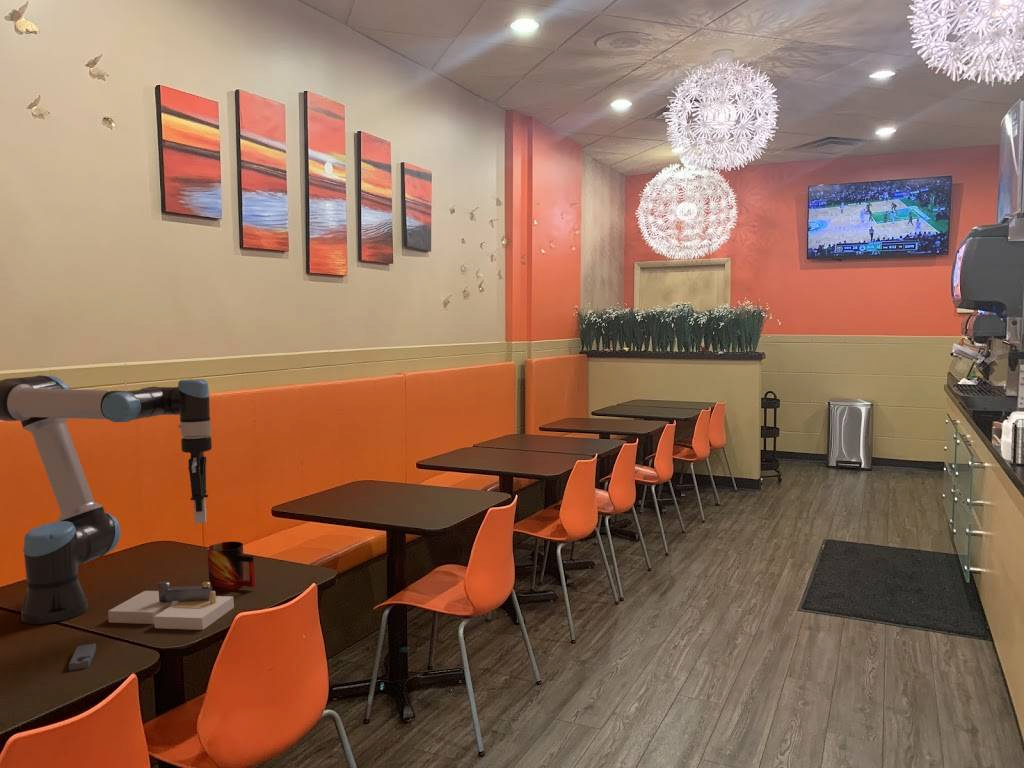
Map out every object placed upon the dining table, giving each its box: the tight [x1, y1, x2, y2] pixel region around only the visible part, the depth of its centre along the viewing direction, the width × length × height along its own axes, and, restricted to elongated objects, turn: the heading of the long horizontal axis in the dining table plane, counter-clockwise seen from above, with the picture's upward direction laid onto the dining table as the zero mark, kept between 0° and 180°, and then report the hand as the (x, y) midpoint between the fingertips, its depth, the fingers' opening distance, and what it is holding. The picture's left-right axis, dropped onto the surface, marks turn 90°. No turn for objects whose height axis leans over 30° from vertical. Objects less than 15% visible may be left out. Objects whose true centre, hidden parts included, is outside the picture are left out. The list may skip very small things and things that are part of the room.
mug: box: [206, 541, 256, 594], centre depth 218 cm, size 10×14×12 cm
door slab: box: [153, 591, 235, 631], centre depth 195 cm, size 13×15×6 cm
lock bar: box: [157, 580, 212, 602], centre depth 199 cm, size 13×3×5 cm, turn 91°
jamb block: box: [107, 590, 178, 625], centre depth 200 cm, size 12×15×3 cm
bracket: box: [68, 643, 97, 671], centre depth 171 cm, size 4×10×2 cm, turn 21°
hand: (200, 522), depth 205 cm, fingers closed
